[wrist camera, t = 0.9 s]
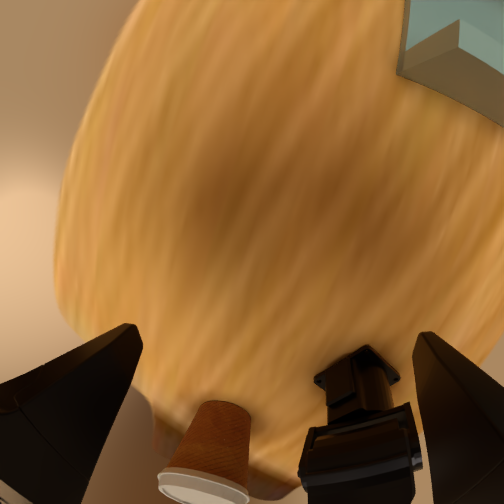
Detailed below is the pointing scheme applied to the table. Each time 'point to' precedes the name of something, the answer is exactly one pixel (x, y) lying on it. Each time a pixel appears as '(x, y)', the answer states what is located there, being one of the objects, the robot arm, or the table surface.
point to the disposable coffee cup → (211, 458)
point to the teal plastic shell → (456, 51)
